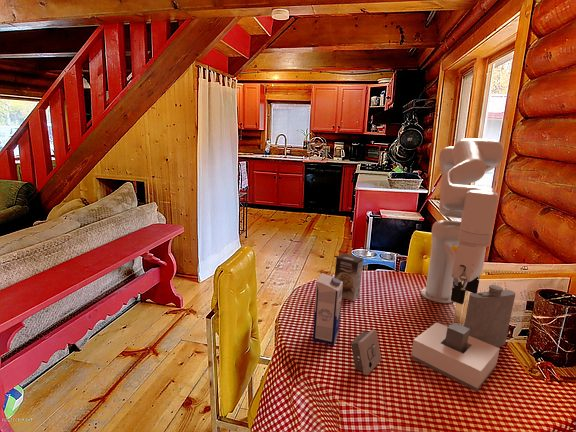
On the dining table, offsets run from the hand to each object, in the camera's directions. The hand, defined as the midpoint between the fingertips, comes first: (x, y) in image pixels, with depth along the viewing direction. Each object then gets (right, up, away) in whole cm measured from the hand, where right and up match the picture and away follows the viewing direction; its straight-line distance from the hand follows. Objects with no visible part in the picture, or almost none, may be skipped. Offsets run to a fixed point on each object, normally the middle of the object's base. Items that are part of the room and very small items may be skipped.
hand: (463, 296), depth 97 cm
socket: (-1, -20, +4) cm, 20 cm away
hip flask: (+13, -19, +14) cm, 26 cm away
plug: (-1, -19, +4) cm, 19 cm away
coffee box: (-25, -10, +44) cm, 51 cm away
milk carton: (-36, -16, +14) cm, 42 cm away
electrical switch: (-27, -20, +2) cm, 33 cm away
